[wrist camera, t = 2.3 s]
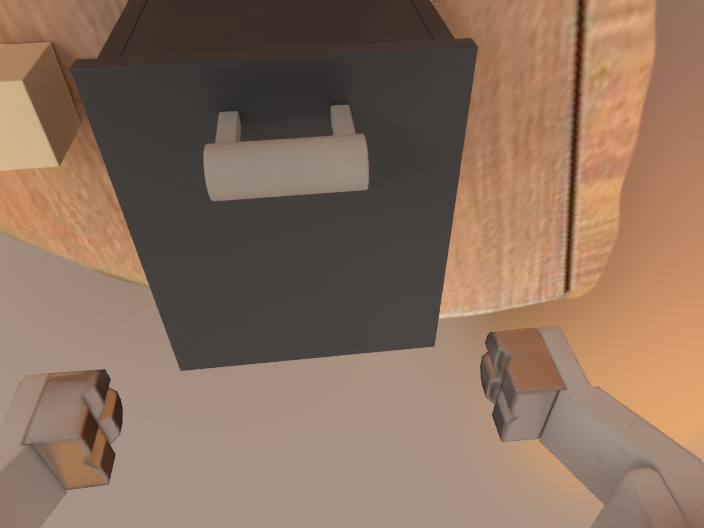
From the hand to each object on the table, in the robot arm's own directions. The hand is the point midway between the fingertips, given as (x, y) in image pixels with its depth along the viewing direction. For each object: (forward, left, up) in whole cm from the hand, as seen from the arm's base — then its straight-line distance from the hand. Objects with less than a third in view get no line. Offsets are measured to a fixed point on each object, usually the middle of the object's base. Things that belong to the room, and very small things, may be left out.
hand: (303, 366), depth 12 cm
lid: (+6, -2, -12) cm, 14 cm away
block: (0, -14, -22) cm, 26 cm away
